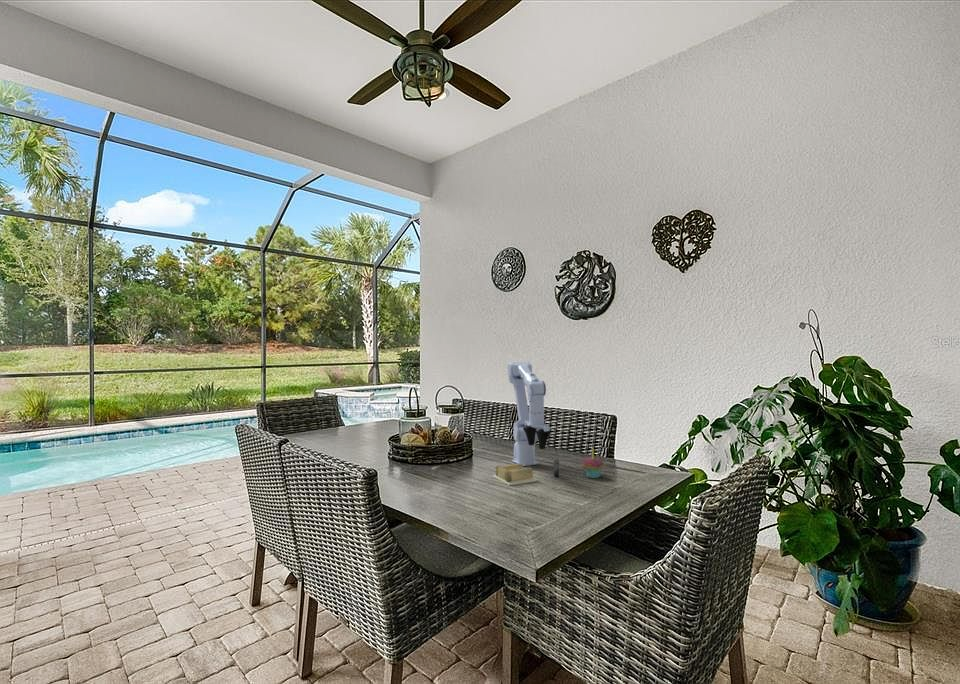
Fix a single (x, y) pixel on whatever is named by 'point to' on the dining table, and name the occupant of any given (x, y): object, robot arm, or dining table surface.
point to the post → (556, 468)
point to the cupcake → (592, 466)
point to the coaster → (515, 481)
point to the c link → (514, 472)
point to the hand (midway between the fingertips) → (536, 446)
